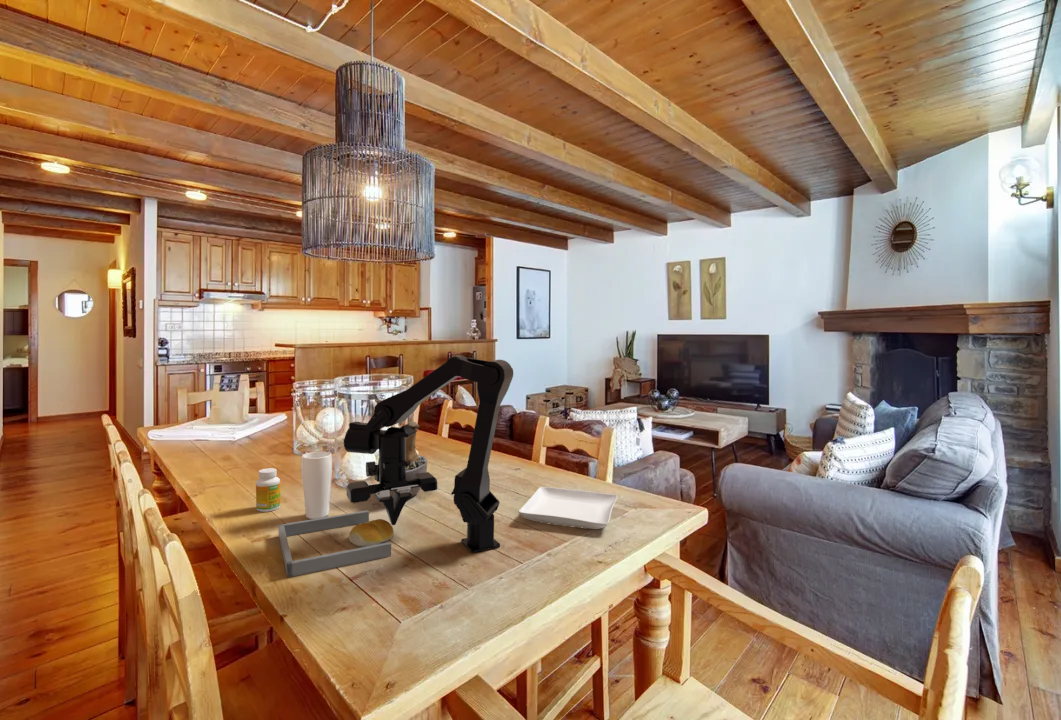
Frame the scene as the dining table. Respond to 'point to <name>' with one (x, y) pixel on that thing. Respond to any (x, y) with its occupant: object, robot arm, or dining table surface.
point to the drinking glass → (316, 483)
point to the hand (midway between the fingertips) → (393, 524)
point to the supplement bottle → (267, 490)
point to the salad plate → (569, 507)
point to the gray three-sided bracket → (334, 558)
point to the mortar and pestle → (414, 458)
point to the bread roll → (371, 533)
